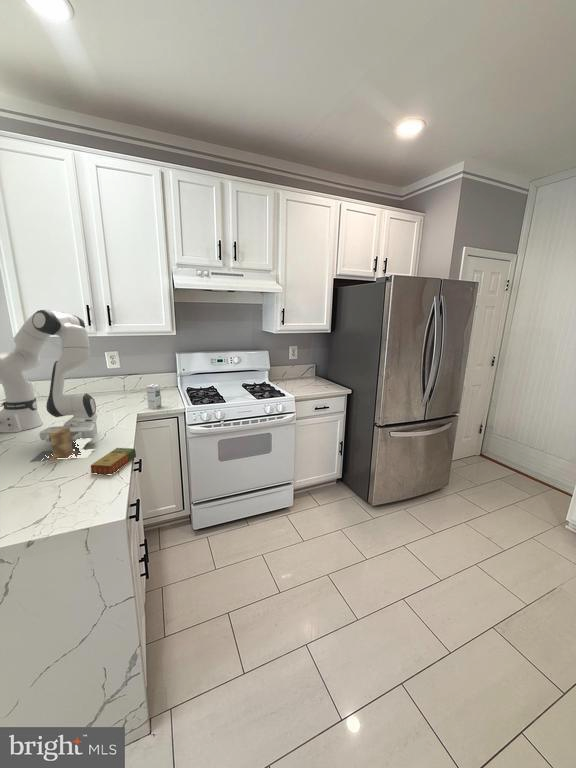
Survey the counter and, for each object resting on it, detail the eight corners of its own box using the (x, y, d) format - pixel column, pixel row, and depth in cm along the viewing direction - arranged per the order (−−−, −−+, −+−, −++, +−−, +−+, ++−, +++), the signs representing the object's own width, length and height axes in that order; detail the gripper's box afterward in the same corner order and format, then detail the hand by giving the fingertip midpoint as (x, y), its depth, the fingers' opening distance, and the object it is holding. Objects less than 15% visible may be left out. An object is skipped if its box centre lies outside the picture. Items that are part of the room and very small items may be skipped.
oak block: (53, 458, 128) (49, 433, 125) (59, 453, 132) (56, 428, 130) (67, 457, 129) (63, 432, 126) (73, 452, 133) (69, 428, 131)
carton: (91, 475, 116) (89, 464, 116) (117, 456, 132) (116, 446, 131) (112, 476, 116) (111, 465, 115) (136, 457, 131) (135, 447, 130)
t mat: (29, 462, 125) (29, 461, 125) (57, 439, 147) (57, 439, 147) (87, 458, 129) (87, 457, 129) (107, 437, 151) (107, 436, 151)
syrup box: (156, 409, 195) (154, 386, 192) (147, 408, 196) (145, 385, 193) (161, 406, 200) (160, 384, 197) (153, 406, 202) (151, 383, 198)
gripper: (48, 422, 139) (30, 433, 126) (99, 420, 143) (86, 431, 130) (50, 435, 140) (32, 448, 127) (100, 433, 144) (88, 445, 131)
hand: (60, 439), depth 128 cm, fingers open, 8 cm apart
